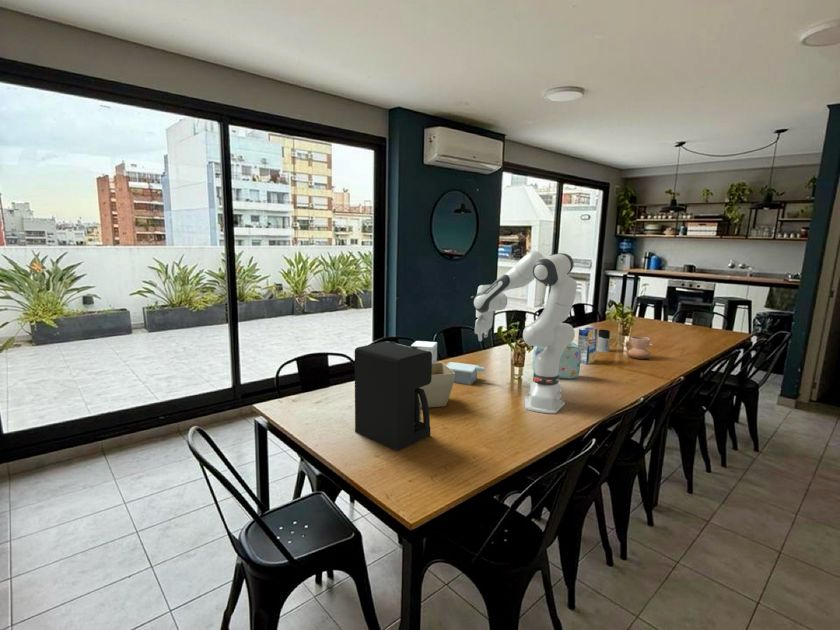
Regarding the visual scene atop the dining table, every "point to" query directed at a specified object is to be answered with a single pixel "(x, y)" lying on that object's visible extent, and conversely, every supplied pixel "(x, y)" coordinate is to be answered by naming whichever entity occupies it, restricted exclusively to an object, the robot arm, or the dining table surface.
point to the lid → (464, 367)
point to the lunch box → (565, 361)
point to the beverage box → (587, 344)
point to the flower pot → (439, 385)
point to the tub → (465, 377)
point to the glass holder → (604, 341)
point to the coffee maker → (392, 393)
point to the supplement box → (427, 348)
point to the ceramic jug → (638, 347)
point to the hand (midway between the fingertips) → (482, 339)
